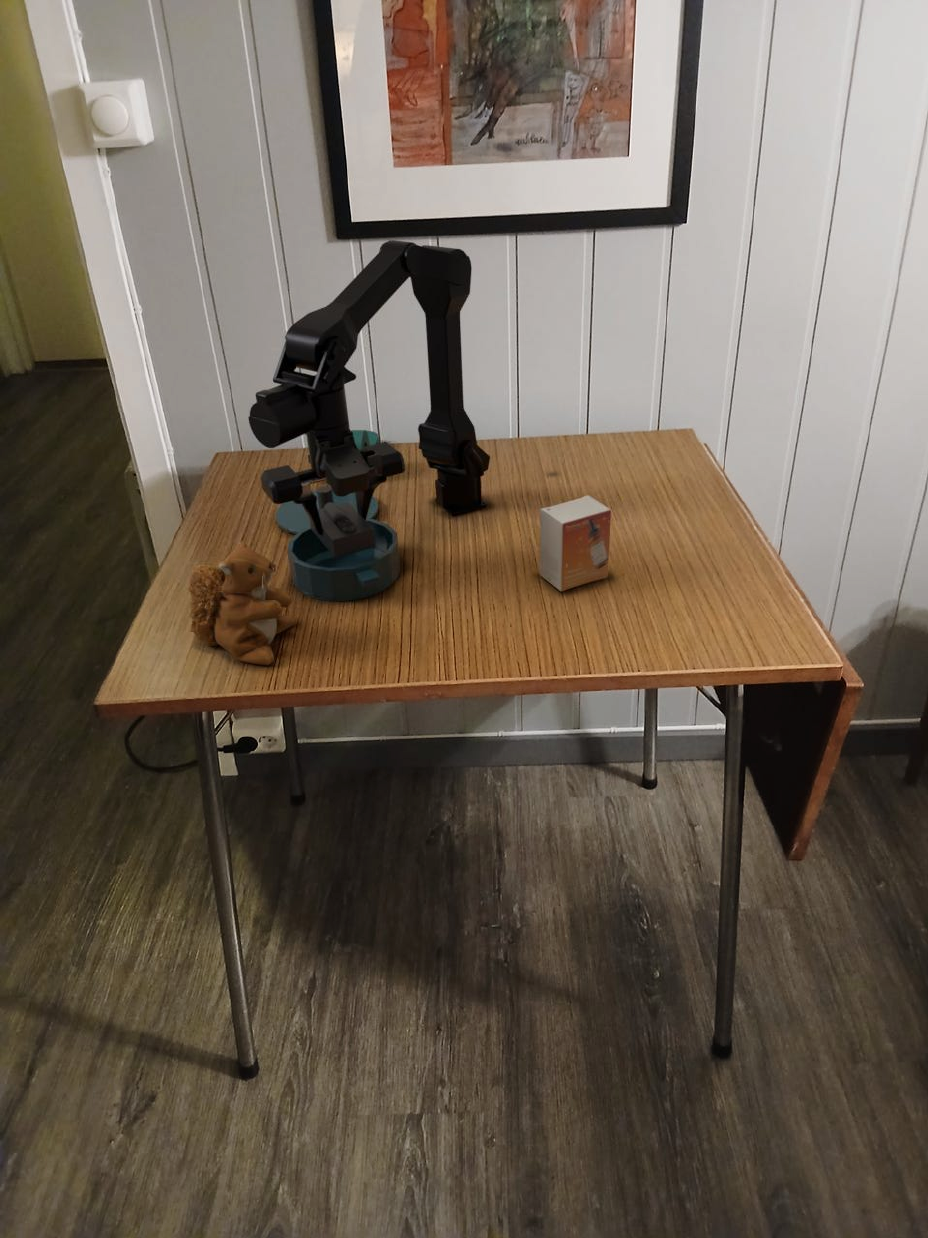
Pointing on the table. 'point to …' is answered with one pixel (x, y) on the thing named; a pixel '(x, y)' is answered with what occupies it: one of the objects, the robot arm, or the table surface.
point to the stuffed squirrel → (239, 605)
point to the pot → (344, 566)
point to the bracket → (364, 438)
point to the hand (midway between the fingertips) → (341, 528)
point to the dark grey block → (344, 530)
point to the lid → (297, 518)
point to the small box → (574, 542)
